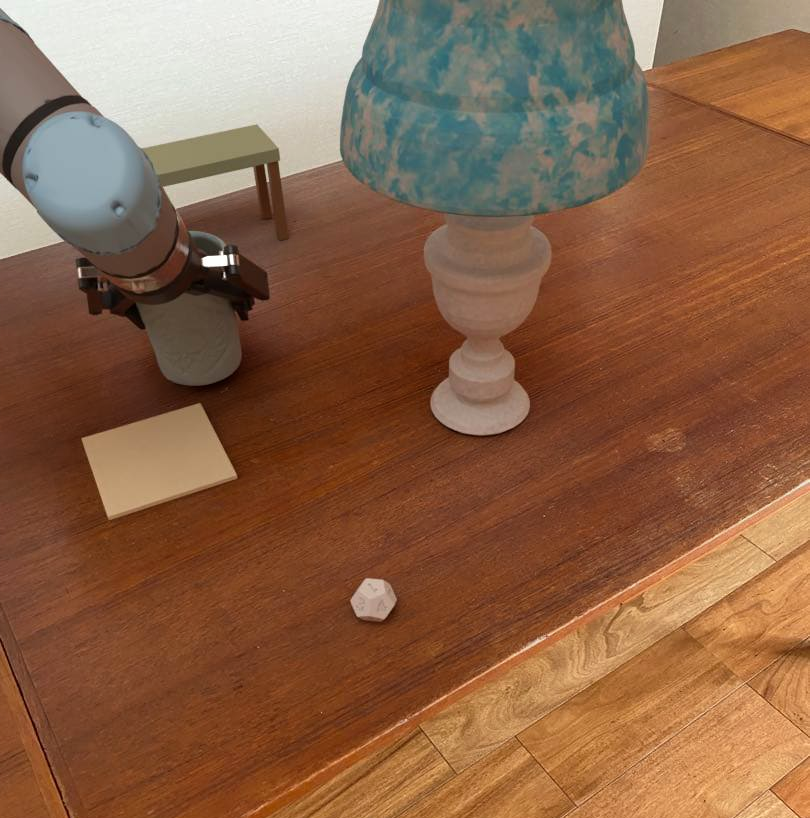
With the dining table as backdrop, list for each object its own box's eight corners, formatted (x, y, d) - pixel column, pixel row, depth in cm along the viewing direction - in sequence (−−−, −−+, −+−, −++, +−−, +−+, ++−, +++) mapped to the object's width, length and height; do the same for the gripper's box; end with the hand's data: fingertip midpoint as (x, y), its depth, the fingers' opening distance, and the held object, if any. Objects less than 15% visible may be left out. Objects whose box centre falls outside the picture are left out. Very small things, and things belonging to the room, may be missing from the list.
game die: (383, 588, 71) (382, 563, 69) (404, 619, 69) (403, 595, 66) (344, 604, 70) (341, 580, 68) (365, 636, 68) (362, 613, 65)
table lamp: (499, 528, 75) (541, 8, 46) (311, 414, 86) (247, -62, 57) (647, 398, 87) (756, -83, 57) (464, 313, 98) (477, -126, 69)
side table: (152, 241, 111) (129, 150, 103) (270, 212, 116) (257, 124, 107) (168, 269, 106) (145, 177, 98) (290, 239, 111) (278, 148, 102)
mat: (82, 441, 84) (81, 438, 84) (201, 406, 88) (200, 402, 87) (109, 520, 77) (107, 516, 77) (237, 478, 80) (237, 474, 80)
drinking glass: (203, 401, 86) (176, 294, 77) (130, 371, 90) (96, 265, 81) (267, 350, 92) (249, 244, 83) (196, 323, 95) (171, 219, 87)
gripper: (1, 306, 67) (88, 357, 89) (289, 282, 68) (304, 338, 91) (-10, 209, 67) (80, 284, 89) (279, 186, 68) (297, 266, 90)
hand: (193, 311), depth 90 cm, fingers closed on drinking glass, 10 cm apart
